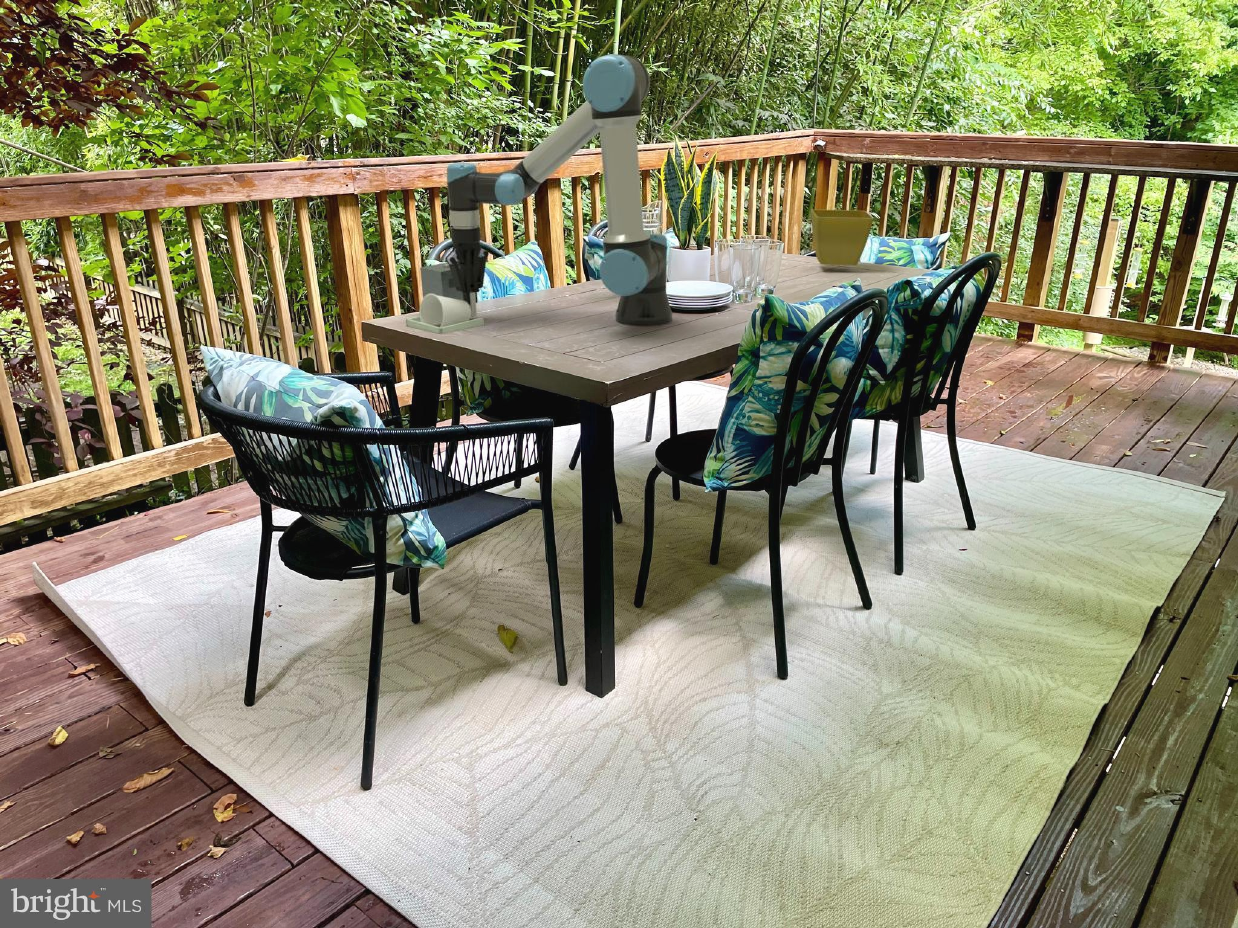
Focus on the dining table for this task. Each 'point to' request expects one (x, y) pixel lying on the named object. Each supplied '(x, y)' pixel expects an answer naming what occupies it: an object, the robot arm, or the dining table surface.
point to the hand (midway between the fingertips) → (471, 316)
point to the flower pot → (840, 235)
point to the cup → (443, 310)
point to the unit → (439, 281)
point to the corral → (418, 324)
